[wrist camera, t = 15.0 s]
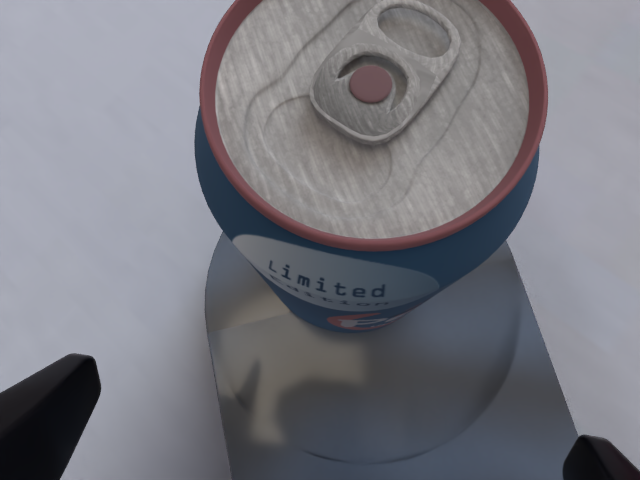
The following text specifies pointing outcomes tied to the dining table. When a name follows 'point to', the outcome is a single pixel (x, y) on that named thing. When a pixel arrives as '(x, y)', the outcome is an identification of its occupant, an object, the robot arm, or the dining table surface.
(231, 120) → the soda can
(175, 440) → the dining table surface
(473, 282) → the grey kitchen scale
